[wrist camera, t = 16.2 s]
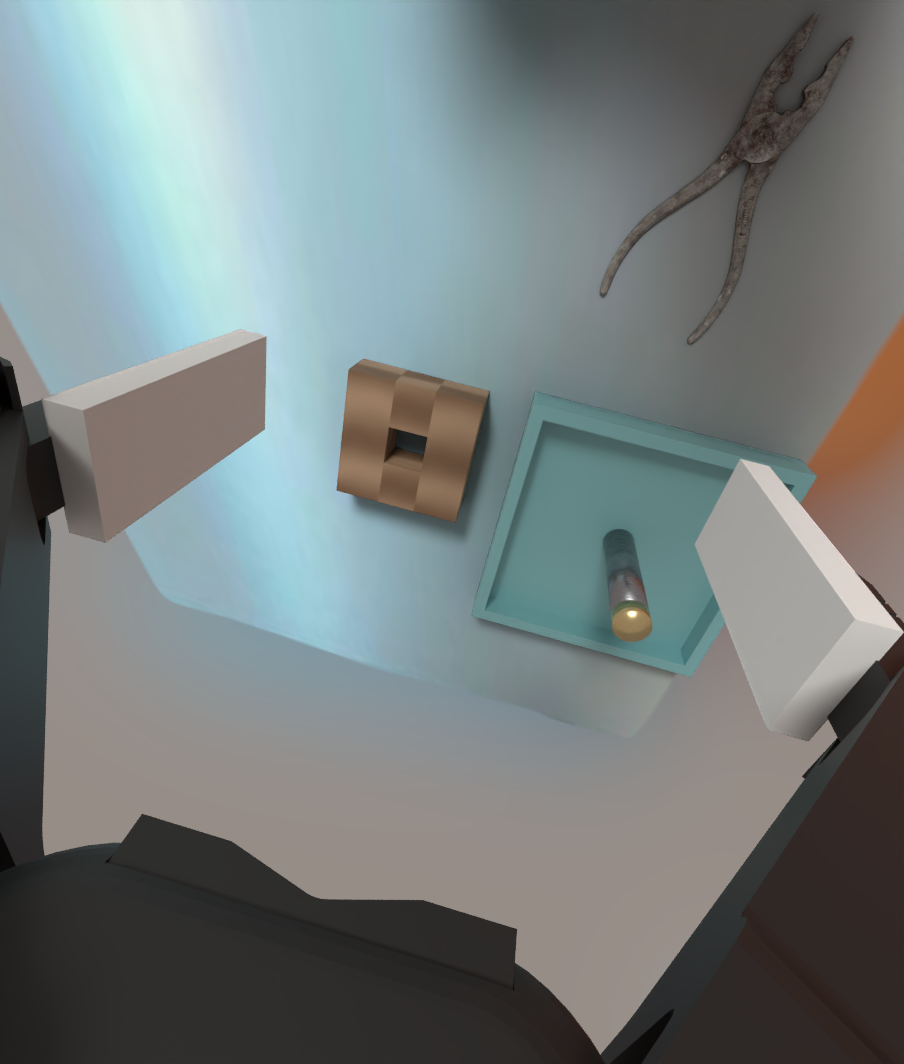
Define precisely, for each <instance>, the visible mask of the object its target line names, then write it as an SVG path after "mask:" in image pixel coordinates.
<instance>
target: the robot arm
mask: <svg viewBox="0 0 904 1064" xmlns="http://www.w3.org/2000/svg"><path fill="white" fill-rule="evenodd" d="M265 387H266V336H264V335H260V334H256V333H252V332H248V331H245V330H241V329H239V330H237V331H234V332H231V333H228V334H225V335H222V336H220V337H217V338H214V339H211V340H208V341H205V342H202V343H200V344H197V345H194V346H191V347H188V348H185V349H182V350H180V351H177V352H174V353H171V354H168V355H165V356H162V357H160V358H157V359H154V360H151V361H148V362H145V363H142V364H140V365H137V366H134V367H131V368H128V369H125V370H122V371H120V372H117V373H114V374H111V375H108V376H105V377H102V378H100V379H97V380H94V381H91V382H88V383H85V384H82V385H80V386H77V387H74V388H71V389H68V390H65V391H63V392H60V393H57V394H54V395H51V396H48V397H45V398H43V399H41V400H40V401H38V402H34V403H32V404H29V405H26V406H23V407H22V405H21V400H20V396H19V392H18V387H17V383H16V379H15V374H14V370H13V366H12V364H11V362H10V361H8V360H6V359H4V358H2V357H0V1064H904V623H903V622H902V620H901V619H900V618H898V617H896V613H895V612H894V611H893V610H892V608H891V607H890V606H889V605H888V604H885V600H884V599H883V597H882V596H881V595H880V594H879V593H878V591H877V590H876V589H875V588H874V587H873V586H872V585H871V584H870V583H869V582H868V581H866V580H865V579H863V578H862V577H861V576H860V575H858V574H857V573H856V572H855V571H854V570H853V569H852V568H851V567H850V565H849V564H848V563H847V562H846V560H845V559H844V558H843V557H842V555H841V554H840V553H839V552H838V550H837V549H836V548H835V547H834V545H833V544H832V543H831V542H830V541H829V539H828V538H827V537H826V536H825V534H824V533H823V532H822V531H821V529H820V528H819V527H818V526H817V525H816V523H815V522H814V521H813V520H812V518H811V517H810V516H809V515H808V513H807V512H806V511H805V510H804V509H803V508H802V506H801V505H800V504H799V502H798V501H797V500H796V499H795V497H794V496H793V495H792V494H791V492H790V491H789V490H788V489H787V488H786V486H785V485H784V484H783V483H782V481H781V480H780V479H779V478H778V476H777V475H776V474H775V473H774V472H773V470H772V469H771V468H770V467H769V466H766V465H763V464H759V463H755V462H751V461H747V460H743V459H740V460H739V462H738V464H737V466H736V468H735V470H734V471H733V473H732V475H731V477H730V479H729V481H728V483H727V485H726V486H725V488H724V490H723V492H722V494H721V496H720V498H719V500H718V501H717V503H716V505H715V507H714V509H713V511H712V513H711V515H710V516H709V518H708V520H707V522H706V524H705V526H704V528H703V530H702V531H701V533H700V535H699V537H698V539H697V541H696V543H695V547H696V549H697V552H698V554H699V557H700V560H701V562H702V565H703V567H704V570H705V572H706V575H707V577H708V580H709V582H710V585H711V588H712V590H713V593H714V595H715V598H716V600H717V603H718V605H719V608H720V611H721V613H722V616H723V618H724V621H725V623H726V626H727V628H728V631H729V634H730V636H731V639H732V641H733V643H734V646H735V649H736V651H737V654H738V656H739V659H740V662H741V664H742V667H743V669H744V672H745V674H746V677H747V679H748V682H749V684H750V687H751V690H752V692H753V694H754V697H755V700H756V702H757V705H758V708H759V710H760V713H761V715H762V718H763V720H764V723H765V725H766V728H767V730H770V731H773V732H777V733H781V734H784V735H787V736H791V737H794V738H798V739H802V740H805V741H809V740H810V739H811V738H812V737H813V736H814V734H815V733H816V732H817V731H818V730H819V729H820V728H821V726H822V725H823V724H824V723H825V722H826V721H827V720H829V721H830V723H831V725H832V727H833V729H834V731H835V733H836V735H837V737H838V738H837V739H836V740H835V741H834V742H833V743H832V744H831V745H830V746H829V748H828V749H827V750H826V751H825V752H824V753H823V754H822V755H821V756H820V758H818V760H817V761H816V762H815V763H814V764H813V765H812V766H811V767H810V768H809V769H808V770H807V772H806V773H805V774H804V775H803V776H802V777H803V778H805V780H804V781H803V782H802V784H801V785H800V787H799V788H798V789H797V791H796V792H795V793H794V795H793V796H792V798H791V799H790V800H789V802H788V803H787V804H786V806H785V807H784V809H783V810H782V811H781V813H780V814H779V815H778V817H777V818H776V820H775V821H774V822H773V824H772V825H771V827H770V828H769V829H768V831H767V832H766V833H765V835H764V836H763V837H762V839H761V840H760V842H759V843H758V844H757V846H756V847H755V848H754V850H753V851H752V853H751V854H750V855H749V857H748V858H747V859H746V861H745V862H744V864H743V865H742V866H741V868H740V869H739V871H738V872H737V873H736V875H735V876H734V878H733V879H732V880H731V882H730V883H729V884H728V886H727V887H726V888H725V890H724V891H723V893H722V894H721V895H720V897H719V898H718V900H717V901H716V902H715V904H714V905H713V907H712V908H711V909H710V910H709V912H708V913H707V915H706V916H705V917H704V919H703V920H702V922H701V923H700V924H699V926H698V927H697V928H696V930H695V931H694V932H693V934H692V935H691V937H690V938H689V939H688V941H687V942H686V943H685V945H684V946H683V948H682V949H681V950H680V952H679V953H678V954H677V956H676V957H675V959H674V960H673V961H672V963H671V964H670V966H669V967H668V968H667V970H666V971H665V972H664V974H663V975H662V977H661V978H660V979H659V981H658V982H657V983H656V985H655V986H654V988H653V989H652V990H651V992H650V993H649V994H648V996H647V997H646V999H645V1000H644V1001H643V1003H642V1004H641V1006H640V1007H639V1008H638V1010H637V1011H636V1012H635V1014H634V1015H633V1016H632V1018H631V1019H630V1020H629V1021H628V1023H627V1024H626V1025H625V1026H624V1028H623V1029H622V1030H621V1031H620V1032H619V1034H618V1035H617V1036H616V1037H615V1038H614V1039H613V1041H612V1042H611V1043H610V1044H609V1045H608V1046H607V1048H606V1049H605V1050H604V1051H603V1052H602V1054H601V1055H600V1054H599V1052H598V1050H597V1049H596V1047H595V1046H594V1044H593V1043H592V1041H591V1039H590V1038H589V1037H588V1035H587V1034H586V1033H585V1032H584V1030H583V1029H582V1027H581V1026H580V1025H579V1023H578V1022H577V1021H576V1020H575V1018H574V1017H573V1015H572V1014H571V1013H570V1012H569V1011H568V1010H567V1008H566V1007H565V1006H564V1005H563V1004H562V1003H561V1002H560V1001H559V1000H558V999H557V998H556V997H555V996H554V995H553V994H552V992H551V991H550V990H549V989H547V988H546V987H545V986H544V985H543V984H542V983H541V982H539V981H538V980H537V979H536V978H535V977H534V976H532V975H531V974H530V973H529V972H528V971H526V970H525V969H523V968H522V967H520V966H519V965H517V964H516V963H515V950H516V934H517V929H515V928H511V927H508V926H505V925H502V924H498V923H495V922H492V921H488V920H485V919H482V918H479V917H476V916H472V915H469V914H466V913H463V912H459V911H456V910H453V909H449V908H446V907H443V906H440V905H436V904H433V903H430V902H427V901H424V900H327V899H319V898H315V897H313V896H311V895H309V894H307V893H306V892H304V891H303V890H301V889H300V888H298V887H297V886H295V885H294V884H292V883H291V882H290V881H288V880H287V879H285V878H284V877H282V876H281V875H279V874H278V873H276V872H275V871H274V870H272V869H271V868H269V867H268V866H266V865H265V864H263V863H262V862H261V861H259V860H258V859H256V858H255V857H253V856H252V855H251V854H249V853H248V852H246V851H245V850H243V849H242V848H240V847H239V846H237V845H236V844H235V843H233V842H231V841H229V840H225V839H222V838H219V837H216V836H212V835H209V834H206V833H203V832H199V831H196V830H193V829H190V828H186V827H183V826H180V825H177V824H173V823H170V822H166V821H163V820H160V819H157V818H154V817H151V816H147V815H144V814H142V815H141V817H140V818H139V819H138V820H137V822H136V823H135V825H134V826H133V828H132V829H131V830H130V832H129V833H128V835H127V836H126V837H125V839H124V840H123V842H122V843H108V844H97V845H88V846H83V847H78V848H74V849H69V850H65V851H60V852H55V853H53V854H49V855H46V856H45V855H44V849H43V837H42V816H43V815H42V814H43V783H44V749H45V716H46V683H47V651H48V618H49V617H48V616H49V615H48V614H49V582H50V551H51V530H50V526H49V521H48V517H47V516H48V515H50V514H51V513H53V512H55V511H57V510H58V509H60V508H62V507H63V506H64V510H65V515H66V520H67V524H68V529H69V533H73V534H76V535H80V536H84V537H87V538H90V539H94V540H97V541H101V542H105V543H106V542H107V541H108V540H110V539H111V538H112V537H114V536H116V535H117V534H118V533H120V532H121V531H123V530H124V529H125V528H127V527H128V526H130V525H131V524H132V523H134V522H135V521H137V520H138V519H139V518H141V517H142V516H144V515H145V514H146V513H148V512H149V511H151V510H152V509H154V508H155V507H156V506H158V505H159V504H161V503H162V502H163V501H165V500H166V499H168V498H169V497H170V496H172V495H173V494H175V493H176V492H177V491H179V490H180V489H182V488H183V487H184V486H186V485H187V484H189V483H190V482H191V481H193V480H194V479H196V478H197V477H198V476H200V475H201V474H203V473H204V472H206V471H207V470H208V469H210V468H211V467H213V466H214V465H215V464H217V463H218V462H220V461H221V460H222V459H224V458H225V457H227V456H228V455H229V454H231V453H232V452H234V451H235V450H236V449H238V448H239V447H241V446H242V445H243V444H245V443H246V442H248V441H249V440H250V439H252V438H253V437H255V436H256V435H258V434H259V433H260V432H262V431H263V430H265Z"/></svg>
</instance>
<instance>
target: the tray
mask: <svg viewBox="0 0 904 1064" xmlns="http://www.w3.org/2000/svg"><path fill="white" fill-rule="evenodd" d="M740 459H743V460H747V461H751V462H755V463H759V464H763V465H766V466H769V467H770V468H771V469H772V470H773V472H774V473H775V474H776V475H777V476H778V478H779V479H780V480H781V481H782V483H783V484H784V485H785V486H786V488H787V489H788V490H789V491H790V492H791V494H792V495H793V496H794V497H795V499H796V500H797V501H798V502H799V504H800V503H801V502H802V500H803V498H804V497H805V495H806V494H807V492H808V490H809V489H810V487H811V486H812V484H813V482H814V481H815V479H816V478H817V476H816V475H815V474H814V473H813V472H812V471H811V470H810V469H809V468H808V467H807V466H806V465H805V463H804V462H803V461H802V460H798V459H795V458H791V457H787V456H783V455H779V454H775V453H771V452H767V451H764V450H760V449H756V448H752V447H748V446H744V445H740V444H736V443H732V442H729V441H725V440H721V439H717V438H713V437H709V436H705V435H701V434H698V433H694V432H690V431H686V430H682V429H678V428H674V427H670V426H666V425H663V424H659V423H655V422H651V421H647V420H643V419H639V418H635V417H632V416H628V415H624V414H620V413H616V412H612V411H608V410H604V409H600V408H597V407H593V406H589V405H585V404H581V403H577V402H573V401H569V400H566V399H562V398H558V397H554V396H550V395H546V394H542V393H538V392H535V394H534V398H533V401H532V405H531V408H530V411H529V415H528V418H527V422H526V425H525V429H524V432H523V436H522V439H521V442H520V446H519V449H518V453H517V456H516V460H515V463H514V467H513V470H512V473H511V477H510V480H509V484H508V487H507V491H506V494H505V497H504V501H503V504H502V508H501V511H500V515H499V518H498V522H497V525H496V528H495V532H494V535H493V539H492V542H491V546H490V549H489V553H488V556H487V559H486V563H485V566H484V570H483V573H482V577H481V580H480V584H479V587H478V590H477V594H476V598H475V602H474V606H473V610H472V615H471V616H474V617H478V618H481V619H485V620H489V621H492V622H496V623H499V624H503V625H506V626H510V627H514V628H517V629H521V630H524V631H528V632H531V633H535V634H539V635H542V636H546V637H549V638H553V639H556V640H560V641H564V642H567V643H571V644H574V645H578V646H581V647H585V648H589V649H592V650H596V651H599V652H603V653H606V654H610V655H614V656H617V657H621V658H624V659H628V660H631V661H635V662H639V663H642V664H646V665H649V666H653V667H656V668H660V669H664V670H667V671H671V672H674V673H678V674H681V675H685V676H689V677H691V676H692V675H693V673H694V672H695V670H696V668H697V667H698V665H699V664H700V662H701V661H702V659H703V657H704V656H705V654H706V653H707V651H708V649H709V648H710V646H711V645H712V643H713V641H714V640H715V638H716V636H717V635H718V634H719V632H720V630H721V629H722V627H723V626H724V624H725V621H724V618H723V616H722V613H721V611H720V608H719V605H718V603H717V600H716V598H715V595H714V593H713V590H712V588H711V585H710V582H709V580H708V577H707V575H706V572H705V570H704V567H703V565H702V562H701V560H700V557H699V554H698V552H697V549H696V547H695V543H696V541H697V539H698V537H699V535H700V533H701V531H702V530H703V528H704V526H705V524H706V522H707V520H708V518H709V516H710V515H711V513H712V511H713V509H714V507H715V505H716V503H717V501H718V500H719V498H720V496H721V494H722V492H723V490H724V488H725V486H726V485H727V483H728V481H729V479H730V477H731V475H732V473H733V471H734V470H735V468H736V466H737V464H738V462H739V460H740ZM615 529H624V530H627V531H628V532H630V533H631V534H632V535H633V537H634V541H635V546H636V551H637V555H638V560H639V565H640V569H641V574H642V579H643V584H644V588H645V593H646V598H647V603H648V607H649V612H650V617H651V621H652V631H651V633H650V635H649V636H648V637H646V638H645V639H643V640H641V641H637V642H627V641H624V640H621V639H619V638H618V637H617V636H616V635H615V634H614V632H613V630H612V621H611V612H610V603H609V595H608V586H607V577H606V568H605V559H604V550H603V538H604V536H605V535H606V534H607V533H608V532H610V531H612V530H615Z"/></svg>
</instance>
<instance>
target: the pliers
mask: <svg viewBox="0 0 904 1064" xmlns="http://www.w3.org/2000/svg"><path fill="white" fill-rule="evenodd" d="M817 17H818V15H816V14H814V15H813V16H812V17H811V18H810V19H809V20H808V22H807V23H806V24H805V25H804V26H803V27H802V29H801V30H800V31H799V32H798V33H797V34H796V36H795V37H794V38H793V39H792V40H791V42H790V43H789V44H788V45H787V46H786V47H785V49H784V50H783V51H782V52H781V53H780V54H779V56H778V57H777V58H776V59H775V60H774V61H773V63H772V64H771V65H770V66H769V67H768V69H767V70H766V71H765V73H764V75H763V77H762V80H761V82H760V84H759V86H758V88H757V91H756V93H755V95H754V97H753V100H752V102H751V104H750V106H749V108H748V111H747V113H746V115H745V117H744V119H743V122H742V124H741V126H740V127H741V128H740V129H739V130H738V132H737V133H736V135H735V136H734V137H733V139H732V140H731V142H730V143H729V144H728V146H727V147H726V148H725V150H724V152H723V153H722V154H721V155H720V156H719V158H718V159H717V160H716V161H715V162H714V164H713V165H712V166H710V167H709V168H708V169H707V170H706V171H705V172H704V173H703V174H702V175H700V176H699V177H698V178H696V179H695V180H694V181H693V182H691V183H690V184H689V185H687V186H686V187H685V188H683V189H682V190H680V191H679V192H678V193H676V194H675V195H674V196H672V197H671V198H669V199H668V200H667V201H665V202H664V203H663V204H661V205H660V206H659V207H657V208H656V209H654V210H653V211H652V212H651V213H650V214H649V215H647V216H646V217H645V218H644V219H643V220H642V221H641V222H640V223H639V224H638V225H637V226H636V227H635V228H634V229H633V230H632V231H631V233H630V234H629V235H628V237H627V238H626V240H625V241H624V242H623V244H622V245H621V247H620V248H619V250H618V251H617V253H616V255H615V256H614V258H613V260H612V262H611V264H610V266H609V268H608V270H607V272H606V274H605V277H604V279H603V282H602V285H601V289H600V293H601V295H604V294H606V293H607V290H608V288H609V286H610V283H611V281H612V278H613V276H614V274H615V272H616V270H617V268H618V266H619V264H620V262H621V261H622V259H623V258H624V256H625V255H626V253H627V252H628V250H629V249H630V248H631V247H632V245H633V244H634V243H635V242H636V241H637V239H638V238H639V237H640V236H641V235H642V234H643V233H644V232H645V231H646V230H648V229H649V228H650V227H651V226H652V225H654V224H655V223H657V222H658V221H659V220H661V219H662V218H664V217H665V216H667V215H668V214H670V213H671V212H673V211H674V210H676V209H677V208H679V207H681V206H682V205H684V204H685V203H687V202H689V201H690V200H692V199H694V198H695V197H697V196H699V195H700V194H702V193H703V192H705V191H706V190H708V189H709V188H711V187H712V186H713V185H714V184H715V183H717V182H718V181H719V180H720V179H722V178H723V177H724V176H725V175H726V174H727V173H729V172H730V171H731V170H732V169H733V168H734V167H735V166H737V165H738V163H739V162H741V161H742V160H745V161H746V162H748V163H751V164H750V165H749V170H748V172H747V175H746V178H745V181H744V185H743V188H742V192H741V196H740V200H739V204H738V210H737V217H736V226H735V236H734V244H733V251H732V258H731V264H730V269H729V274H728V277H727V280H726V283H725V286H724V288H723V290H722V292H721V294H720V296H719V298H718V300H717V302H716V303H715V305H714V307H713V309H712V310H711V312H710V313H709V315H708V316H707V317H706V318H705V320H704V321H703V322H702V324H701V325H700V326H699V327H698V328H697V329H696V330H695V331H694V332H693V333H692V334H691V336H690V337H689V338H688V341H687V342H688V343H689V344H692V343H694V342H695V341H696V340H697V339H698V338H699V337H700V336H701V335H702V334H703V333H704V332H705V331H706V330H707V329H708V328H709V327H710V325H711V324H712V323H713V322H714V320H715V319H716V318H717V317H718V315H719V313H720V312H721V310H722V309H723V307H724V306H725V304H726V303H727V301H728V299H729V297H730V295H731V294H732V292H733V290H734V288H735V285H736V283H737V280H738V278H739V275H740V272H741V268H742V265H743V261H744V256H745V251H746V246H747V241H748V236H749V231H750V226H751V220H752V216H753V212H754V208H755V204H756V201H757V197H758V194H759V191H760V189H761V187H762V185H763V183H764V181H765V179H766V177H767V176H768V175H769V173H770V172H771V170H772V168H773V166H774V165H775V163H776V161H777V159H778V157H779V156H780V154H781V152H782V151H783V150H784V149H785V148H786V147H787V146H788V145H789V143H790V142H791V141H792V140H793V139H794V138H795V137H796V135H797V134H798V133H799V132H800V131H801V129H802V128H803V127H804V126H805V125H806V123H807V122H808V121H809V120H810V119H811V117H812V116H813V115H814V114H815V113H816V111H817V110H818V109H819V108H820V107H821V105H822V104H823V102H824V100H825V98H826V96H827V94H828V92H829V90H830V88H831V86H832V84H833V81H834V79H835V77H836V75H837V73H838V71H839V69H840V67H841V65H842V63H843V61H844V59H845V57H846V55H847V53H848V51H849V49H850V47H851V45H852V43H853V41H854V38H853V37H852V36H851V37H850V38H848V39H847V40H846V42H845V43H844V44H843V45H842V46H841V47H840V49H839V50H838V51H837V52H836V53H835V54H834V55H833V57H832V58H831V59H830V60H829V61H828V62H827V63H826V66H825V69H824V71H823V74H821V76H820V78H818V79H817V80H816V81H814V82H812V83H810V84H809V85H807V86H806V88H805V89H804V90H803V91H802V95H803V102H802V104H801V106H800V108H799V109H798V110H796V111H795V112H790V111H785V112H784V113H783V114H782V115H779V114H778V113H776V112H775V110H776V108H777V106H778V105H777V104H776V103H775V101H774V100H773V95H774V90H775V89H776V87H777V86H778V85H779V84H781V83H785V82H787V81H789V79H790V77H791V75H792V70H793V69H792V68H793V67H792V65H793V64H792V63H793V61H794V58H795V56H796V55H797V54H798V52H799V51H800V50H802V48H803V47H804V46H805V44H806V41H807V39H808V37H809V35H810V33H811V30H812V28H813V26H814V24H815V21H816V19H817ZM761 113H762V114H761ZM767 160H768V161H767ZM764 161H765V162H764ZM761 162H763V163H761ZM753 163H760V164H753Z"/></svg>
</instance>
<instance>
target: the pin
mask: <svg viewBox="0 0 904 1064" xmlns="http://www.w3.org/2000/svg"><path fill="white" fill-rule="evenodd" d="M603 550H604V559H605V568H606V577H607V586H608V595H609V603H610V612H611V621H612V630H613V632H614V634H615V635H616V636H617V637H618V638H619V639H621V640H624V641H627V642H637V641H641V640H643V639H645V638H646V637H648V636H649V635H650V633H651V631H652V621H651V617H650V612H649V607H648V603H647V598H646V593H645V588H644V584H643V579H642V574H641V569H640V565H639V560H638V555H637V551H636V546H635V541H634V537H633V535H632V534H631V533H630V532H628V531H627V530H624V529H615V530H612V531H610V532H608V533H607V534H606V535H605V536H604V538H603Z"/></svg>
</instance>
